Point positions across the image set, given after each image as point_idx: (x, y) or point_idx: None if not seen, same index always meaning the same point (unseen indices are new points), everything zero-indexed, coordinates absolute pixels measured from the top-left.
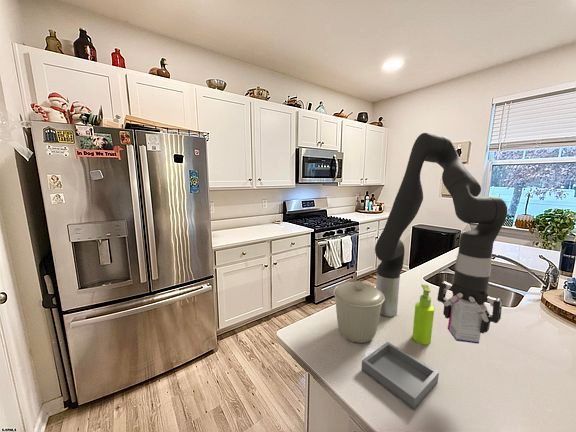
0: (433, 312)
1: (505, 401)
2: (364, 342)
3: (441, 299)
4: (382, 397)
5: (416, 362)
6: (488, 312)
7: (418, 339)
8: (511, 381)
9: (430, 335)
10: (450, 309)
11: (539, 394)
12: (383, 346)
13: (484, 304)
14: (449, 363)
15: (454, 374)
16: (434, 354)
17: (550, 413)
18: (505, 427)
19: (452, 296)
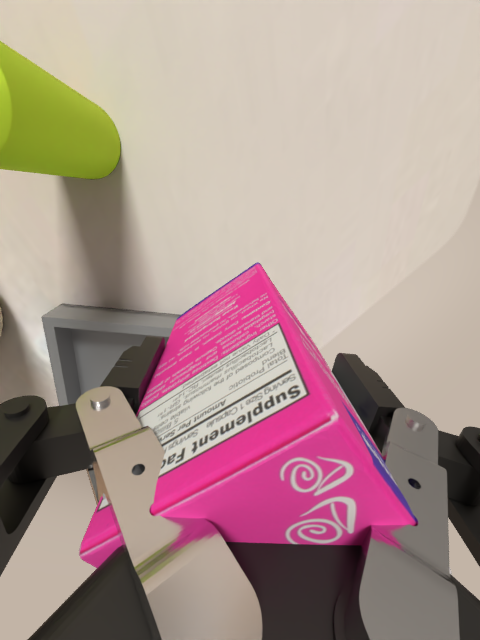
0: (25, 99)
1: (342, 258)
2: (1, 332)
3: (47, 485)
4: None
5: (149, 333)
6: (435, 460)
7: (85, 178)
8: (364, 149)
9: (104, 142)
10: (148, 385)
11: (427, 151)
12: (52, 346)
13: (443, 505)
14: (207, 213)
15: (231, 254)
16: (159, 203)
17: (431, 217)
18: (337, 334)
19: (100, 508)
